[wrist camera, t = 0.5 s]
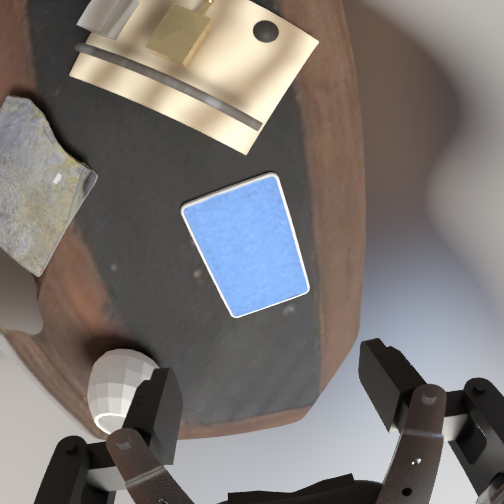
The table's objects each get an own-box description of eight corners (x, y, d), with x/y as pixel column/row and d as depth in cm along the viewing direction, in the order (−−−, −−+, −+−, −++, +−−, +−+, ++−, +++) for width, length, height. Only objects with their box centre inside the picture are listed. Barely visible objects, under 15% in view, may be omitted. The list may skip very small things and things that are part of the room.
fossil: (115, 155, 32) (23, 83, 24) (105, 166, 28) (4, 86, 20) (50, 261, 38) (-27, 200, 29) (39, 279, 34) (-43, 213, 25)
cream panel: (74, 76, 25) (47, 73, 19) (143, -36, 19) (132, -59, 14) (244, 152, 33) (253, 165, 27) (314, 43, 28) (338, 33, 22)
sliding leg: (153, 54, 25) (144, 46, 20) (195, -8, 22) (194, -24, 17) (186, 68, 26) (182, 62, 22) (228, 6, 23) (232, -9, 19)
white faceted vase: (111, 326, 43) (93, 394, 31) (180, 359, 48) (179, 426, 36) (87, 365, 47) (72, 425, 35) (147, 392, 52) (143, 451, 40)
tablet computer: (309, 288, 45) (312, 293, 44) (231, 315, 45) (232, 321, 44) (275, 168, 35) (277, 171, 34) (177, 204, 36) (177, 208, 35)
